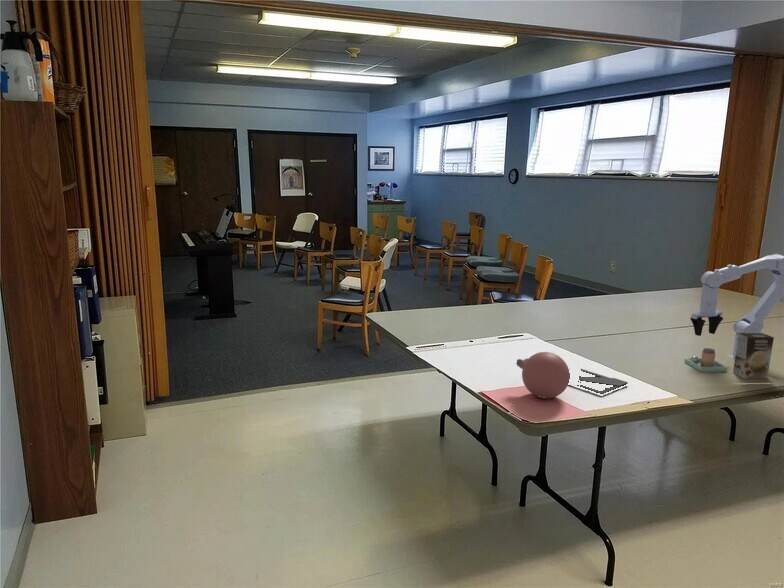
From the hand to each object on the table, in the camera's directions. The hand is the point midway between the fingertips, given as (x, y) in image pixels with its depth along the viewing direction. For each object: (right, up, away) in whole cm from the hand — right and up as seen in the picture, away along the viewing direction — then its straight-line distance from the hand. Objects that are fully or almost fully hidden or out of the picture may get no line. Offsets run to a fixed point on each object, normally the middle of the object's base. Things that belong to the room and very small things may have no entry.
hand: (704, 334), depth 222 cm
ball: (-8, -11, -7) cm, 16 cm away
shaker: (-5, -12, -10) cm, 17 cm away
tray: (-6, -12, -10) cm, 17 cm away
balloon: (-77, -18, -35) cm, 86 cm away
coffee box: (+6, -14, -19) cm, 25 cm away
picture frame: (-56, -16, -25) cm, 63 cm away
